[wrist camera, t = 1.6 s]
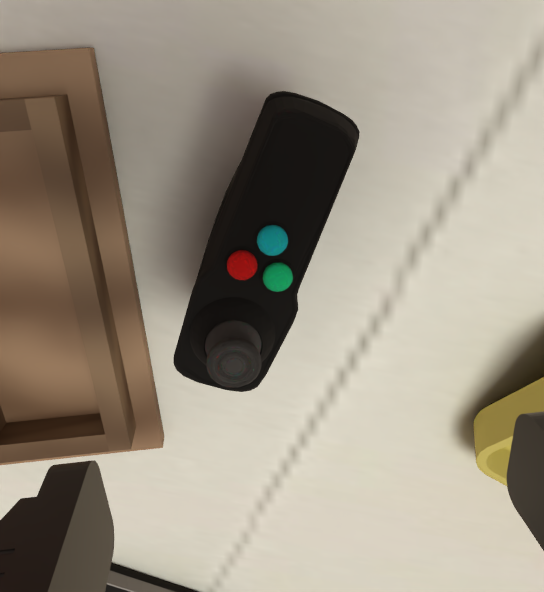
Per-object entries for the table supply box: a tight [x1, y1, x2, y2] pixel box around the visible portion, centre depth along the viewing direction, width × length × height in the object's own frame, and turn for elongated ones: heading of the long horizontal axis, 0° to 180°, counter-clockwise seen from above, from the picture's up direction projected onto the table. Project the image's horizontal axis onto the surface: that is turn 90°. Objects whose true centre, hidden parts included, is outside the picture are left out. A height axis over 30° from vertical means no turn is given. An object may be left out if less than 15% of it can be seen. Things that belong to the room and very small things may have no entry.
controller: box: [174, 91, 359, 392], centre depth 22 cm, size 4×12×10 cm, turn 158°
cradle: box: [0, 48, 164, 465], centre depth 26 cm, size 22×11×3 cm, turn 3°
